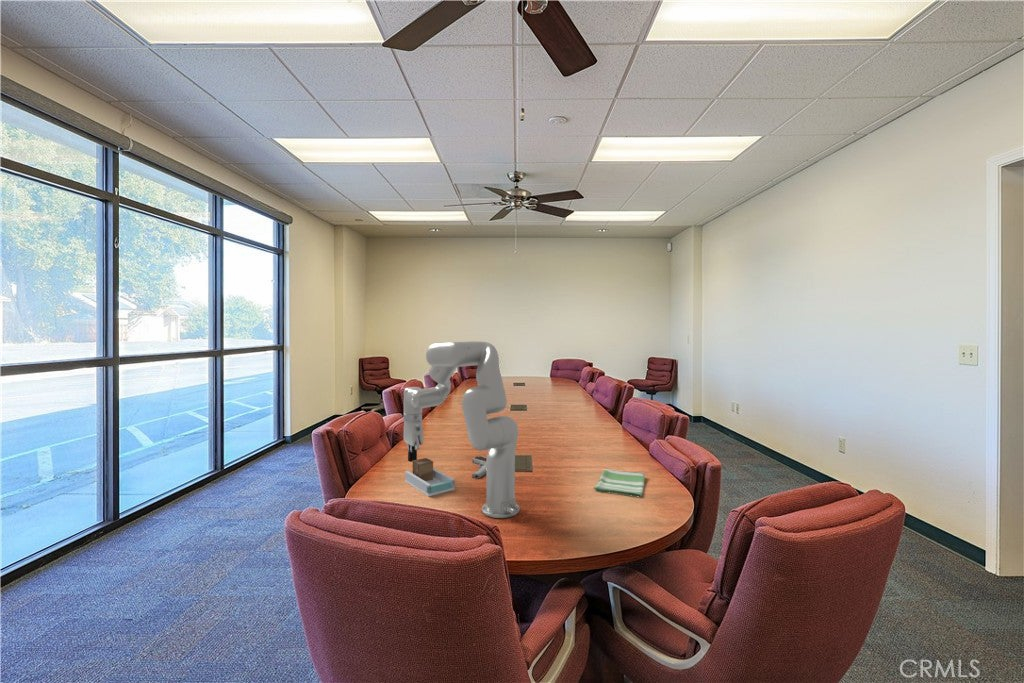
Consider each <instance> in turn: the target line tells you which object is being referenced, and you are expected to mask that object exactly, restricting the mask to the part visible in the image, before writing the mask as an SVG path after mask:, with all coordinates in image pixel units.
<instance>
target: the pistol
mask: <svg viewBox="0 0 1024 683" xmlns="http://www.w3.org/2000/svg"><path fill="white" fill-rule="evenodd" d="M471 462H472V463H473V464H476V465H478V469H477V471H475V472H473V473H472V474H471V477H472V478H473V479H480V478H482V477H483V476H486V465H487V456H483V455H477V456H475V457H473V458H472V461H471Z"/></svg>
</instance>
